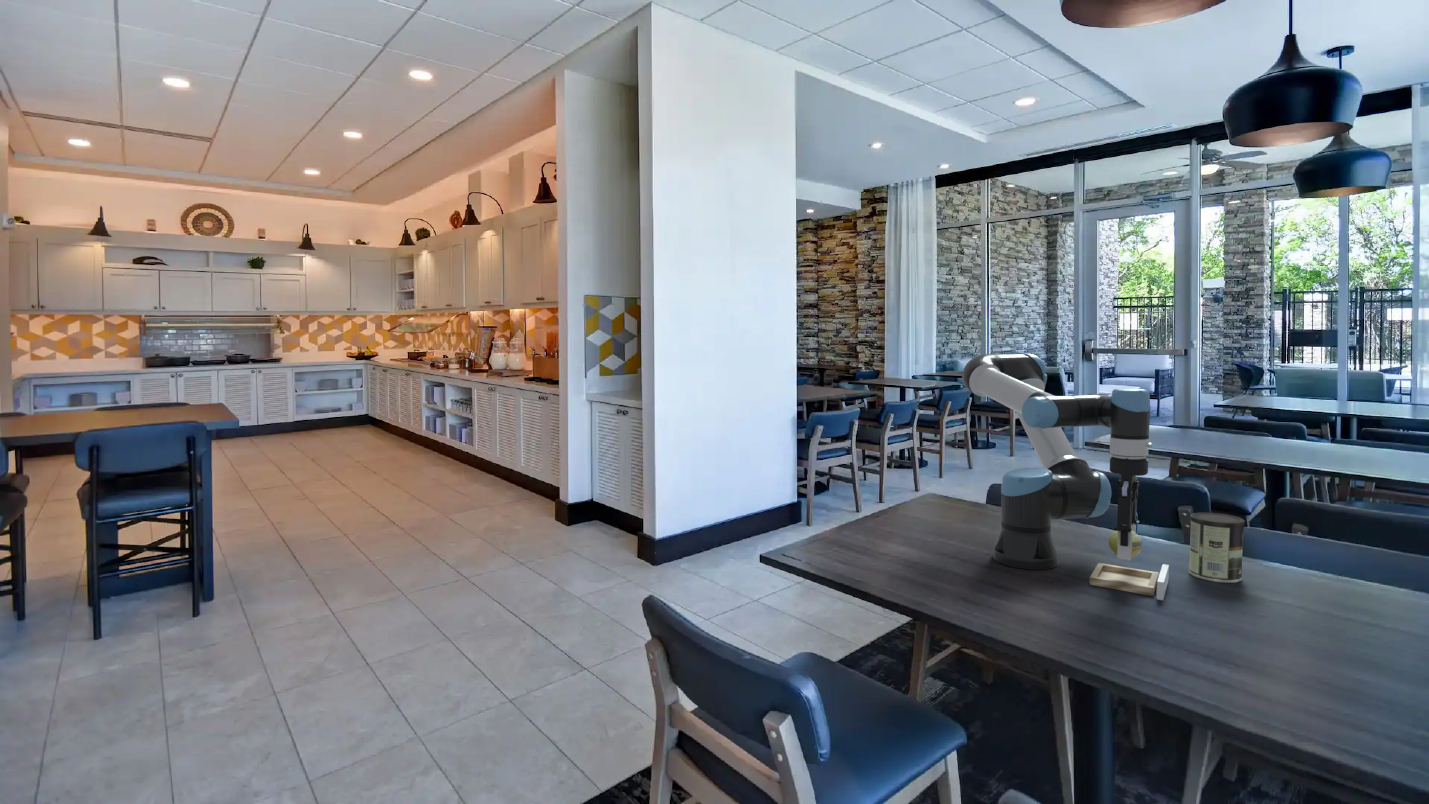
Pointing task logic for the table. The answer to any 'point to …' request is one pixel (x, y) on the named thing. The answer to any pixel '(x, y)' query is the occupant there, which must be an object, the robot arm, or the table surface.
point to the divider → (1162, 582)
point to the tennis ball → (1135, 543)
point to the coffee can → (1216, 547)
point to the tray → (1124, 579)
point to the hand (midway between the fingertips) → (1126, 555)
